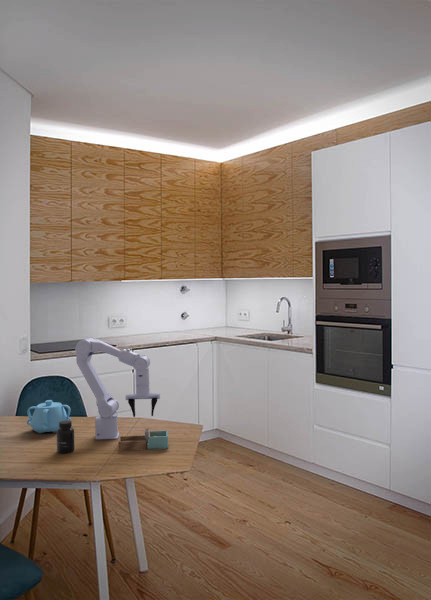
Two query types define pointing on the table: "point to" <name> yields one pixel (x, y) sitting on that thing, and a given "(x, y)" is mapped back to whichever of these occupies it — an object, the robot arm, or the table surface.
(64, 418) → the decorative pot
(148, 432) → the plunger
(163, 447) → the teal open box
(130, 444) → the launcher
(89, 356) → the robot arm
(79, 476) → the table surface
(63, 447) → the supplement bottle
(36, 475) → the table surface
